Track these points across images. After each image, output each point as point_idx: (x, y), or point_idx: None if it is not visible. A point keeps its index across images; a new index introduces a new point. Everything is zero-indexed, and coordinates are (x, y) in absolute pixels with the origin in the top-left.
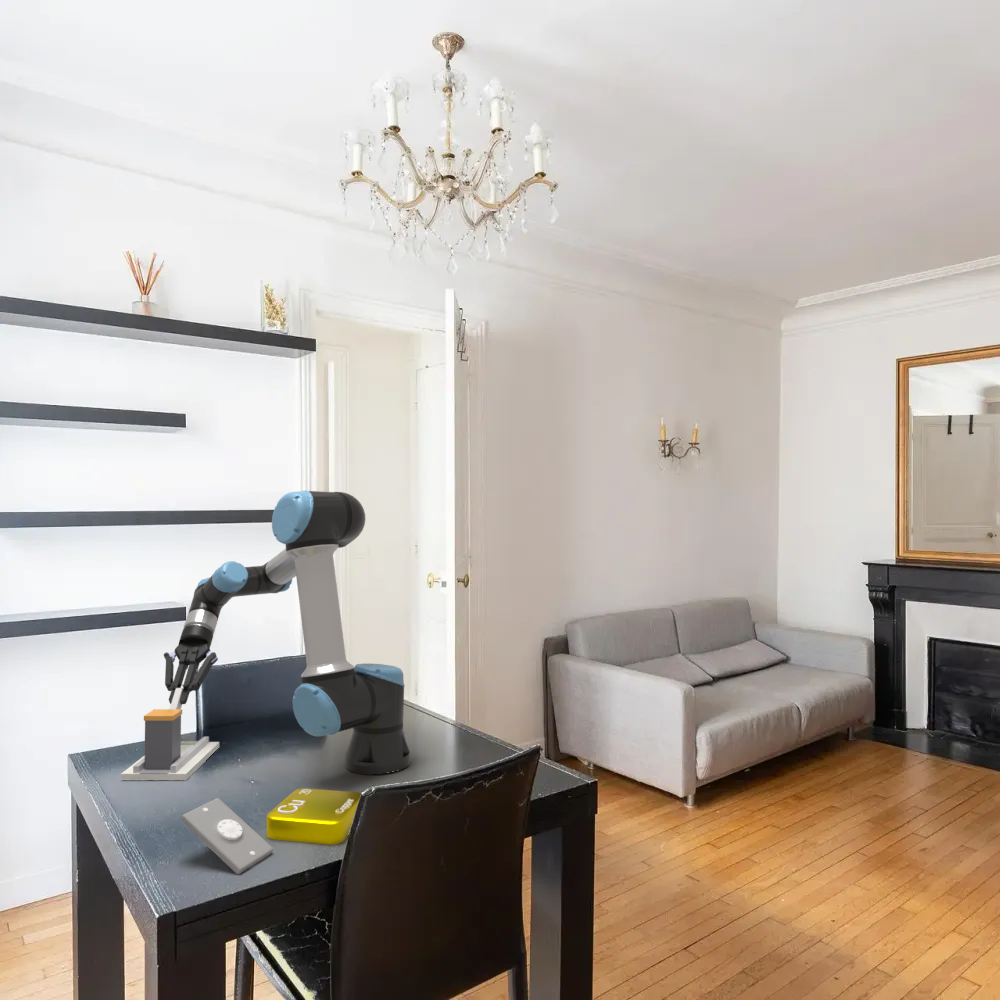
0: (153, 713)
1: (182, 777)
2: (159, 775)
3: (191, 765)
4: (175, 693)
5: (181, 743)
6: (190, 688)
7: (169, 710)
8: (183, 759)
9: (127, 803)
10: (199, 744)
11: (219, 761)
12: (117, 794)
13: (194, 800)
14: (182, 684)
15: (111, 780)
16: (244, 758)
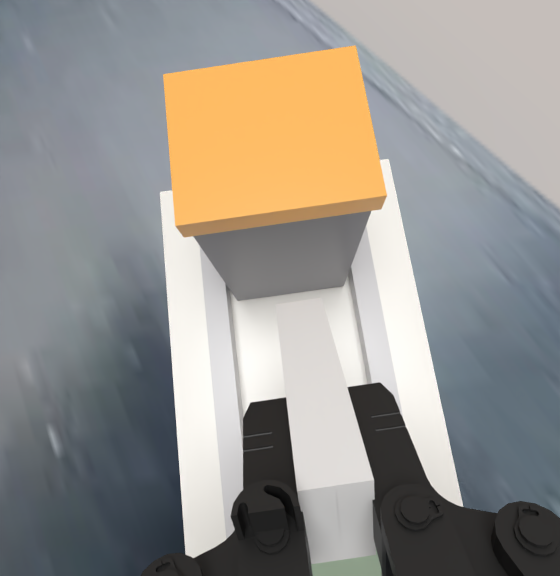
0: (327, 105)
1: None
2: None
3: (177, 272)
4: (345, 423)
5: None
6: (224, 551)
7: (255, 185)
8: (200, 256)
9: (253, 28)
10: (221, 456)
11: (127, 408)
12: None
13: (76, 73)
14: (295, 503)
15: (418, 170)
16: (38, 458)
